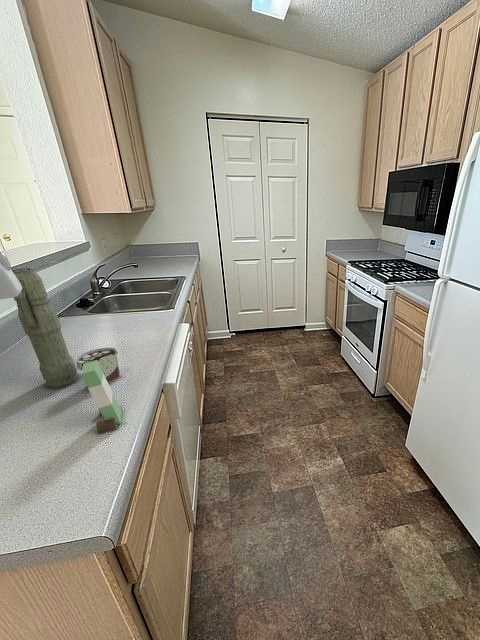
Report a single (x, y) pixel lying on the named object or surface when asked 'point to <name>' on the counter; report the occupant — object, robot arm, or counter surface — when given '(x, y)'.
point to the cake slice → (102, 362)
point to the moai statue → (44, 330)
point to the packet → (101, 391)
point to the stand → (106, 425)
